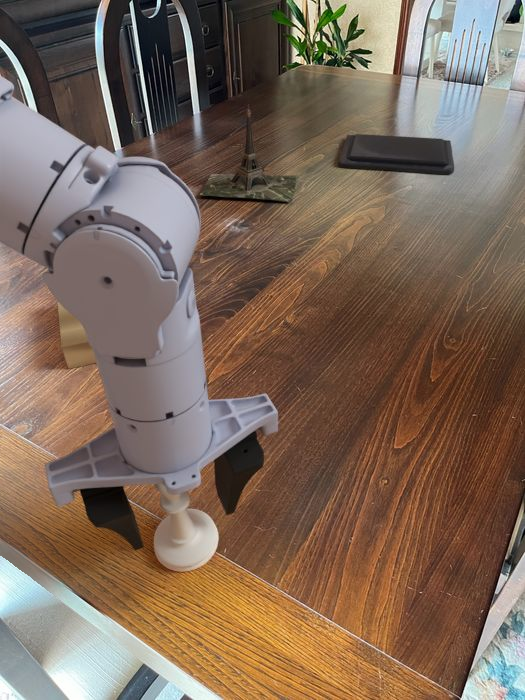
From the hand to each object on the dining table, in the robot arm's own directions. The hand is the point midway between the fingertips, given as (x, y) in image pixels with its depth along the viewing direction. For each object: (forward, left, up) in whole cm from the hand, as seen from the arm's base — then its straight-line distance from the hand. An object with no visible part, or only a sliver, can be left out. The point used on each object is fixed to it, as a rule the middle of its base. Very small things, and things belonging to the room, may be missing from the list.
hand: (182, 519), depth 40 cm
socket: (-20, +21, -3) cm, 29 cm away
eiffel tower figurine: (-20, +61, -3) cm, 64 cm away
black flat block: (0, +83, -3) cm, 83 cm away
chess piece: (0, 0, -3) cm, 3 cm away
